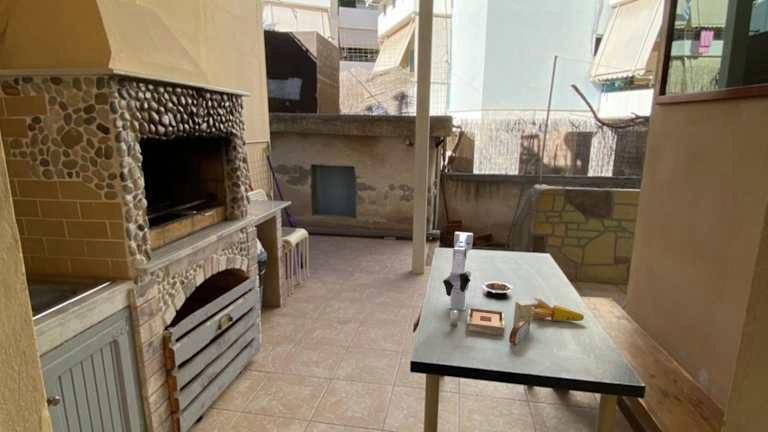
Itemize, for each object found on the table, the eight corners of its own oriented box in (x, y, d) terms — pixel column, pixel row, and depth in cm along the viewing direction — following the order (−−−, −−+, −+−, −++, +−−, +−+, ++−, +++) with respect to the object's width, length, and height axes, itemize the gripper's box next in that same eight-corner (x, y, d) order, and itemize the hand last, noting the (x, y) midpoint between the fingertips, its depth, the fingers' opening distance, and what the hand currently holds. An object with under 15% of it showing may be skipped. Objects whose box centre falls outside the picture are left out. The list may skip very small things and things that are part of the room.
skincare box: (518, 330, 184) (520, 305, 181) (512, 326, 188) (514, 301, 185) (530, 328, 186) (533, 303, 183) (525, 324, 190) (527, 299, 187)
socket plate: (472, 316, 196) (473, 311, 195) (498, 319, 193) (499, 314, 192) (471, 328, 185) (471, 323, 184) (499, 331, 182) (499, 326, 181)
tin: (521, 332, 183) (523, 314, 181) (528, 334, 181) (530, 317, 179) (507, 346, 171) (509, 328, 169) (515, 349, 169) (516, 330, 168)
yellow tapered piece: (580, 331, 191) (524, 318, 196) (579, 317, 196) (525, 305, 202) (586, 321, 185) (528, 308, 191) (585, 307, 191) (529, 295, 196)
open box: (468, 315, 198) (469, 307, 198) (503, 319, 194) (503, 311, 194) (466, 331, 183) (466, 322, 182) (503, 336, 179) (504, 327, 179)
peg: (450, 322, 191) (450, 309, 189) (457, 323, 190) (458, 309, 188) (449, 326, 187) (450, 312, 186) (457, 327, 187) (457, 313, 185)
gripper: (440, 268, 196) (436, 292, 187) (465, 259, 187) (462, 284, 178) (449, 276, 199) (446, 300, 189) (474, 267, 190) (472, 292, 181)
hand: (455, 293), depth 184 cm, fingers open, 7 cm apart
